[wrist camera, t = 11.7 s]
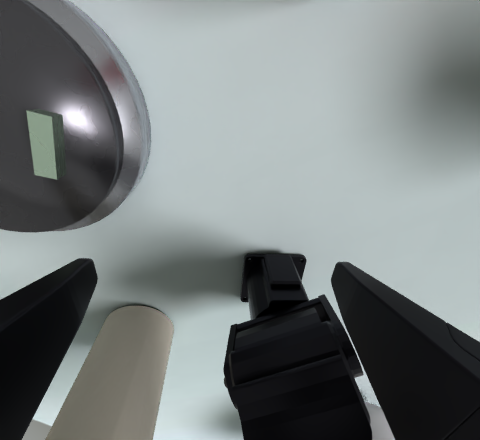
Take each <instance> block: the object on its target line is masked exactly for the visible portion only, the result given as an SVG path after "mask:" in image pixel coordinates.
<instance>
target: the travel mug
mask: <svg viewBox="0 0 480 440" xmlns="http://www.w3.org/2000/svg"><path fill="white" fill-rule="evenodd" d="M173 333H174V327H173V324H172V322H171V320H170V319H169V318H168V317H167V316H166V315H165V314H163V313H162V312H160V311H158V310H156V309H153V308H150V307H146V306H126V307H122V308H119V309H116V310H115V311H113V312H112V313H110V314H109V315H108V317H107V318H106V320H105V322H104V324H103V326H102V328H101V330H100V332H99V334H98V336H97V338H96V340H95V342H94V344H93V346H92V348H91V350H90V352H89V354H88V356H87V358H86V360H85V362H84V364H83V366H82V368H81V370H80V372H79V374H78V376H77V378H76V380H75V382H74V384H73V386H72V388H71V390H70V392H69V394H68V396H67V398H66V400H65V402H64V404H63V406H62V408H61V410H60V412H59V414H58V416H57V418H56V420H55V422H54V424H53V426H52V428H51V430H50V432H49V434H48V436H47V437H46V440H153V435H154V430H155V425H156V420H157V415H158V410H159V404H160V399H161V394H162V389H163V384H164V379H165V374H166V369H167V364H168V358H169V353H170V348H171V343H172V338H173Z"/></svg>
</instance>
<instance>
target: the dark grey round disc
mask: <svg viewBox="0 0 480 440" xmlns="http://www.w3.org/2000/svg"><path fill="white" fill-rule="evenodd" d="M27 1H29V2H30V3H32V4H33V5H35V6H36V7H38V8H39V9H41V10H42V11H43V12H45V13H46V14H47V15H48V16H49V17H51V18H52V19H53V20H54V21H55V22H57V23H58V24H59V25H60V26H61V27H62V28H63V29H64V30H65V31H66V32H67V33H68V34H69V35H70V36H71V37H72V38H73V39H74V40H75V41H76V42H77V43H78V44H79V45H80V47H81V48H82V49H83V50H84V52H85V53H86V54H87V55H88V57H89V58H90V59H91V61H92V62H93V64H94V65H95V66H96V68H97V69H98V71H99V72H100V74H101V75H102V77H103V79H104V81H105V83H106V85H107V87H108V89H109V90H110V92H111V95H112V97H113V100H114V102H115V105H116V107H117V110H118V114H119V117H120V121H121V125H122V131H123V137H124V157H123V165H122V169H121V173H120V176H119V179H118V181H117V183H116V185H115V187H114V189H113V190H112V191H111V193H110V194H109V196H108V197H107V198H106V199H105V200H104V201H103V202H102V203H101V204H100V205H99V206H98V207H97V208H96V209H95V210H94V211H93V212H92V213H90V214H89V215H88V216H86V217H85V218H84V219H82V220H80V221H78V222H76V223H75V224H73V225H70V226H67V227H64V228H61V229H57V230H52V231H64V230H72V229H77V228H81V227H84V226H88V225H90V224H93V223H95V222H97V221H99V220H101V219H103V218H104V217H106V216H108V215H109V214H110V213H112V212H113V211H114V210H115V209H116V208H117V207H118V206H119V205H120V204H121V203H122V202H123V201H124V200H125V198H126V197H127V196H128V195H129V194H130V193H131V192H132V190H133V189H134V188H135V187H136V186H137V184H138V182H139V181H140V179H141V178H142V176H143V173H144V171H145V169H146V166H147V163H148V159H149V154H150V146H151V127H150V120H149V114H148V110H147V106H146V103H145V99H144V96H143V93H142V91H141V88H140V86H139V83H138V81H137V79H136V77H135V75H134V73H133V71H132V70H131V68H130V66H129V64H128V62H127V61H126V59H125V58H124V56H123V55H122V53H121V52H120V51H119V49H118V48H117V46H116V45H115V44H114V43H113V41H112V40H111V39H110V38H109V37H108V35H107V34H106V33H105V32H104V31H103V30H102V29H101V28H100V27H99V26H98V25H97V24H96V23H95V22H94V21H93V20H92V19H91V18H90V17H89V16H88V15H87V14H85V13H84V12H83V11H82V10H80V9H79V8H78V7H77V6H75V5H74V4H73V3H72V2H70V1H69V0H27Z"/></svg>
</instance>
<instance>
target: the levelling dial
mask: <svg viewBox="0 0 480 440" xmlns="http://www.w3.org/2000/svg"><path fill="white" fill-rule="evenodd" d="M123 157H124V137H123V131H122V125H121V121H120V117H119V114H118V110H117V107H116V105H115V102H114V100H113V97H112V95H111V92H110V90H109V89H108V87H107V85H106V83H105V81H104V79H103V77H102V75H101V74H100V72H99V71H98V69H97V68H96V66H95V65H94V64H93V62H92V61H91V59H90V58H89V57H88V55H87V54H86V53H85V52H84V50H83V49H82V48H81V47H80V45H79V44H78V43H77V42H76V41H75V40H74V39H73V38H72V37H71V36H70V35H69V34H68V33H67V32H66V31H65V30H64V29H63V28H62V27H61V26H60V25H59V24H58V23H57V22H55V21H54V20H53V19H52V18H51V17H49V16H48V15H47V14H46V13H45V12H43V11H42V10H41V9H39V8H38V7H36V6H35V5H33V4H32V3H30V2H29V1H27V0H0V229H4V230H9V231H18V232H45V231H52V230H57V229H61V228H64V227H67V226H70V225H73V224H75V223H76V222H78V221H80V220H82V219H84V218H85V217H86V216H88V215H89V214H90V213H92V212H93V211H94V210H95V209H96V208H97V207H98V206H99V205H100V204H101V203H102V202H103V201H104V200H105V199H106V198H107V197H108V196H109V194H110V193H111V191H112V190H113V189H114V187H115V185H116V183H117V181H118V179H119V176H120V173H121V169H122V165H123Z"/></svg>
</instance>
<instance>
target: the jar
mask: <svg viewBox="0 0 480 440" xmlns="http://www.w3.org/2000/svg"><path fill="white" fill-rule="evenodd" d="M364 403H365V405H366V407H367V410H368V412H369V415H370V421H371V424H370V426H371V429H372V440H395V438H394V436H393V434H392V431H391V429H390V427H389V424H388V422H387V420H386V418H385V415H384V413H383V411H382V408H380V407H378V406H376V405H374V404H370V403H367V402H364Z"/></svg>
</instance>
